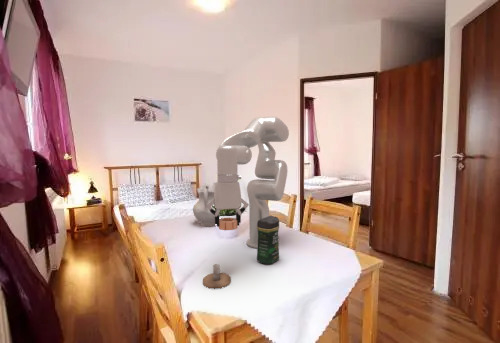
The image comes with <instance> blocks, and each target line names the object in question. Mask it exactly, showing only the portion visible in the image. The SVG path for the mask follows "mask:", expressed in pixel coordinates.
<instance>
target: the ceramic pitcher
mask: <svg viewBox="0 0 500 343" xmlns="http://www.w3.org/2000/svg"><path fill="white" fill-rule="evenodd" d="M215 183H216V182H213V183H212V185H210V184H207V183H203V184H201V186H200V187H198V188H196V192H197V194H198V200H197V202H196V203H195V204H194V205H193V207H192V212H193V216H194V217H195V219H197V221H199V222H200V223H199V225H201V226H204V227H215V226H216V225H215V215H213V214H212V213H211V212H210V210H209V209H208V208H207V207H206V205H207V204H208V203H210V202H211V201H212V200H213V198H214V188H215ZM213 205H214V204H213ZM211 207H212V206H211ZM212 209H213V208H212Z"/></svg>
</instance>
